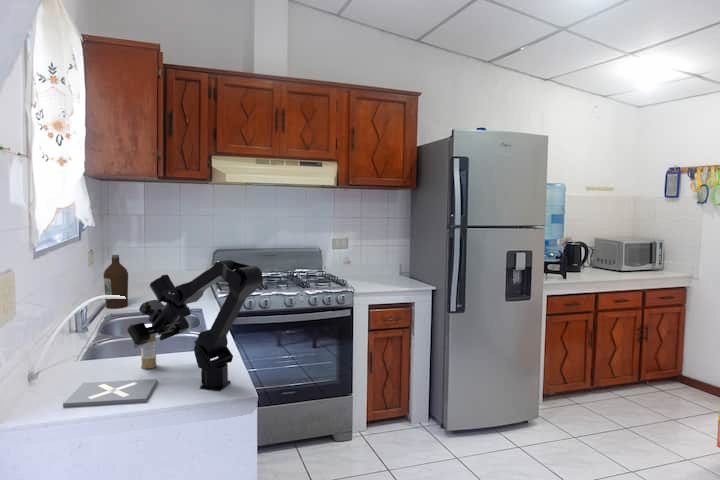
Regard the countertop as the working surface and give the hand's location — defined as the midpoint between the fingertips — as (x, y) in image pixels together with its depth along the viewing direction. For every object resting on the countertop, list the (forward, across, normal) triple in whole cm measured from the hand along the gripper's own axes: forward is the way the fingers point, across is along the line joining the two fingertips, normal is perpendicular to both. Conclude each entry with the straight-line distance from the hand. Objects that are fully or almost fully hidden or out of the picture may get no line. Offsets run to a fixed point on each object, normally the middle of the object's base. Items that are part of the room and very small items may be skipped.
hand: (147, 343), depth 155 cm
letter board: (-2, +19, +13) cm, 23 cm away
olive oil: (+66, -45, -54) cm, 96 cm away
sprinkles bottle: (+5, 0, +6) cm, 8 cm away
